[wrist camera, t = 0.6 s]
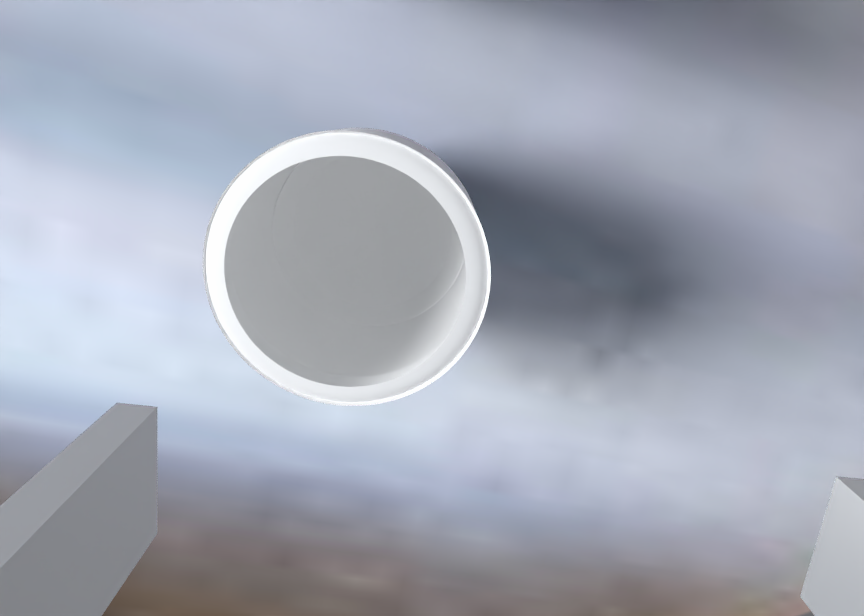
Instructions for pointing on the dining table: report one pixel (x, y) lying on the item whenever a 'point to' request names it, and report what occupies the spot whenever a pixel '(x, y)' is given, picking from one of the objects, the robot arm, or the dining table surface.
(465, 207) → the jar
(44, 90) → the dining table surface
